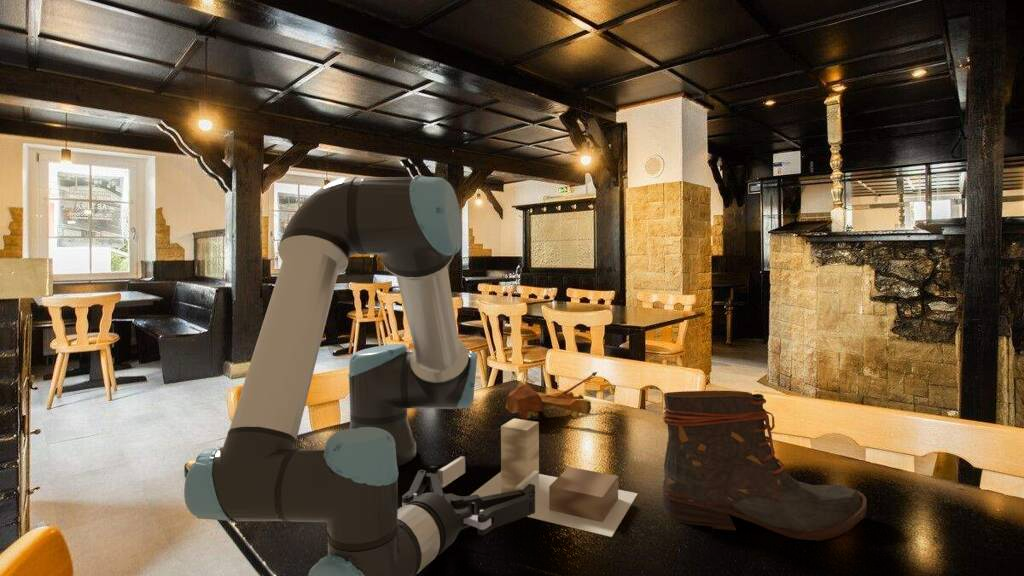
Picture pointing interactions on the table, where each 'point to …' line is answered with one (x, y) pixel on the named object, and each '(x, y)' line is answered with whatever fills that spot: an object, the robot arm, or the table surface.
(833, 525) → the ankle boot
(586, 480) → the plinth
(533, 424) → the column
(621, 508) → the white flat panel
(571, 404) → the toy
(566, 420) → the table surface
